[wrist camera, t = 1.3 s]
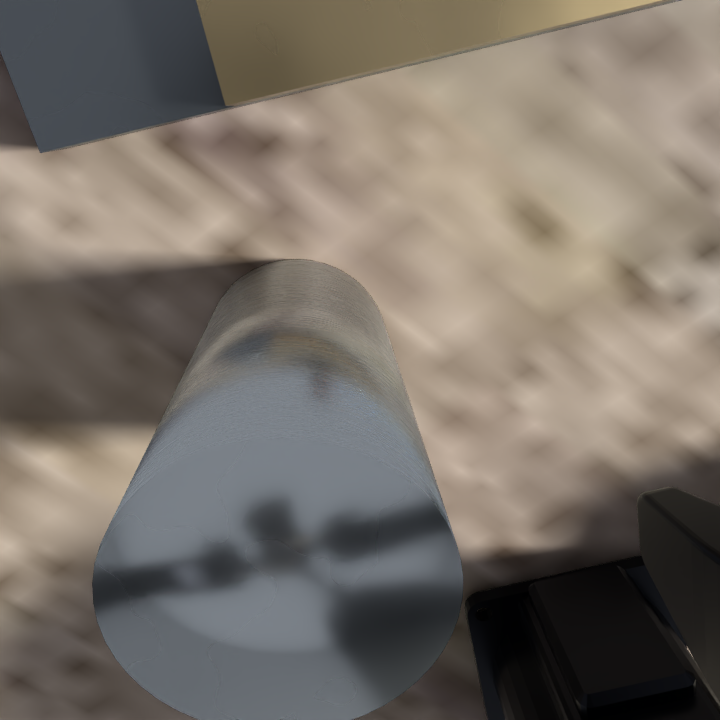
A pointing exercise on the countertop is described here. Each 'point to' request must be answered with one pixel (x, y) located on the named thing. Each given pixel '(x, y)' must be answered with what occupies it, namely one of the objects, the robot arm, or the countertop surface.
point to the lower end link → (118, 66)
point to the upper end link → (365, 36)
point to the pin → (282, 517)
